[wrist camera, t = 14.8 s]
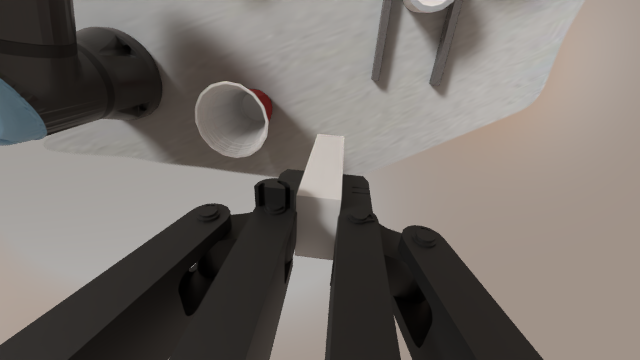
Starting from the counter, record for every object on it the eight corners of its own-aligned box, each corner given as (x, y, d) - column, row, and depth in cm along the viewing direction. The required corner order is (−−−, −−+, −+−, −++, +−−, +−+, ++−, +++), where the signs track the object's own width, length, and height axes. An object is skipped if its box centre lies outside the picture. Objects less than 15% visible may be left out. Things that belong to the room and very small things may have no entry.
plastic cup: (283, 72, 43) (262, 81, 33) (288, 133, 48) (271, 158, 38) (222, 73, 44) (183, 82, 34) (233, 133, 49) (202, 157, 39)
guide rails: (371, 78, 42) (372, 80, 41) (394, -72, 34) (396, -78, 32) (435, 83, 42) (439, 85, 40) (475, -67, 33) (482, -74, 31)
